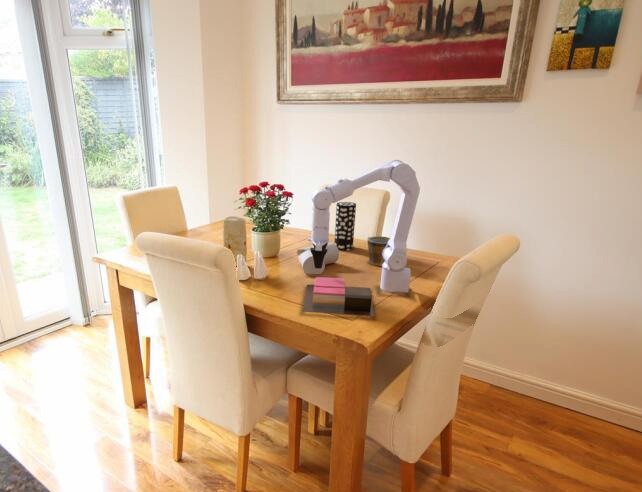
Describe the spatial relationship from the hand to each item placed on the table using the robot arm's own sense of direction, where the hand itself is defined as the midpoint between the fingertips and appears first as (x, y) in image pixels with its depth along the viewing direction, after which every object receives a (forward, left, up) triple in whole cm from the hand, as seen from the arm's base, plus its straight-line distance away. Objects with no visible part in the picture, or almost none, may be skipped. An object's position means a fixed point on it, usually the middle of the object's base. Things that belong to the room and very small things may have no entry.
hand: (318, 264), depth 159 cm
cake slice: (-4, +12, -9) cm, 15 cm away
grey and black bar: (-8, +16, -9) cm, 20 cm away
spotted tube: (-9, -52, -10) cm, 54 cm away
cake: (-4, +4, -9) cm, 10 cm away
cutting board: (-7, +9, -10) cm, 15 cm away
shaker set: (+25, -8, -10) cm, 28 cm away
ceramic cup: (-22, -34, -10) cm, 42 cm away
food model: (+35, -23, -10) cm, 43 cm away
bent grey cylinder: (+1, -24, -10) cm, 26 cm away
